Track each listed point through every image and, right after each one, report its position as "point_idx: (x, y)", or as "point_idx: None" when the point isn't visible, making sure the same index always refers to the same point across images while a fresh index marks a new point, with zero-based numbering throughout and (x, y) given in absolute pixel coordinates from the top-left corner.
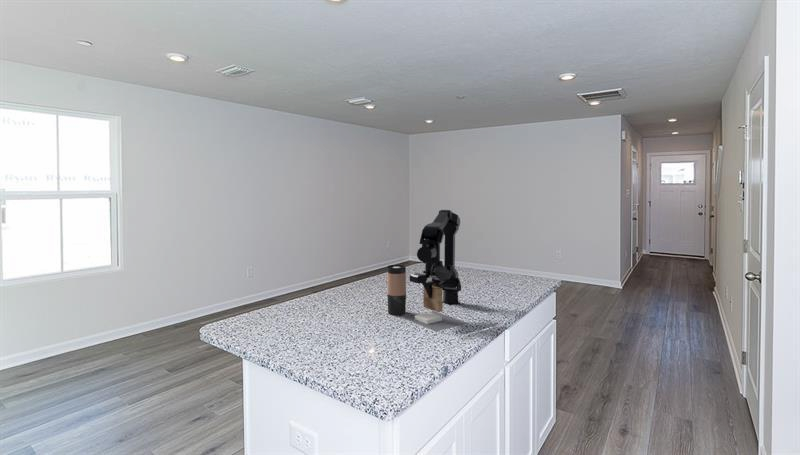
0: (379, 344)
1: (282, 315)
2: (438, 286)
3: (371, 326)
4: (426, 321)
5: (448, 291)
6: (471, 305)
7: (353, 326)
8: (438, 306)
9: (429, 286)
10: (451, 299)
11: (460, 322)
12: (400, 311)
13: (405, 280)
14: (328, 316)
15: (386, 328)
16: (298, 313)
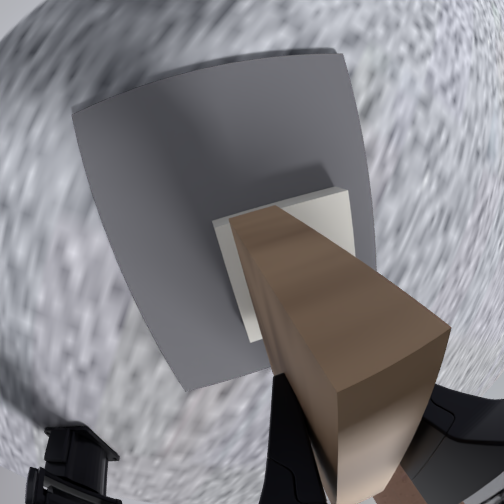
0: (500, 101)
1: (493, 368)
2: (299, 487)
3: (473, 263)
4: (343, 194)
5: (85, 484)
6: (5, 396)
7: (490, 278)
8: (294, 217)
9: (484, 403)
10: (75, 449)
11: (109, 137)
12: None
13: (414, 501)
14: (471, 363)
15: (461, 225)
16: (479, 379)
